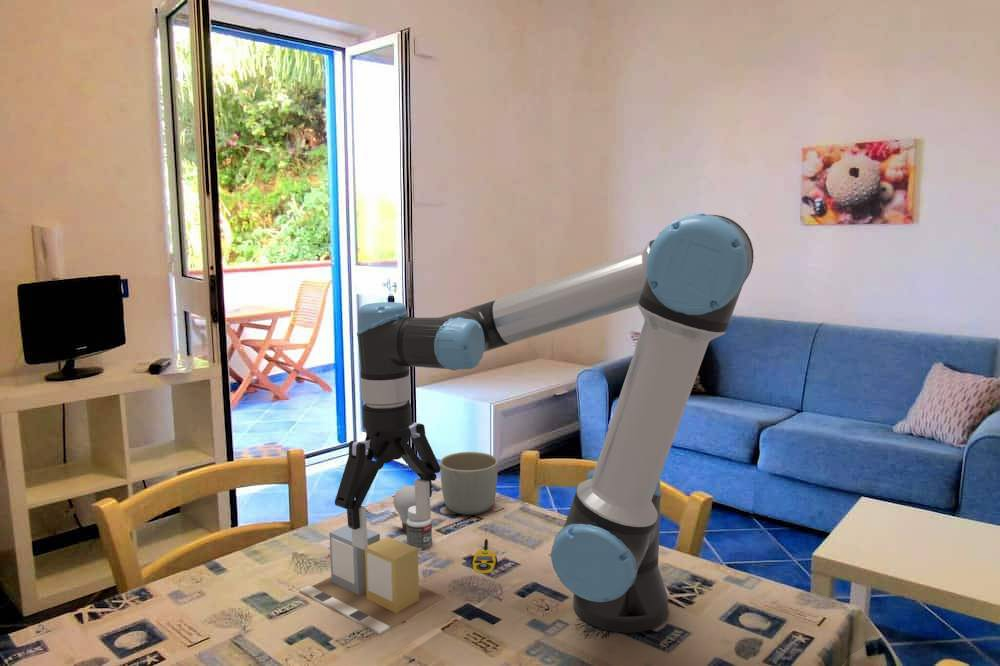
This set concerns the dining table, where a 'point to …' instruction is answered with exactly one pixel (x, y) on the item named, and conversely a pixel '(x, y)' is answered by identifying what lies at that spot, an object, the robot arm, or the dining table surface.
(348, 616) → the shelf board
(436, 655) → the dining table surface
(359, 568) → the slate box
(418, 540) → the pill bottle
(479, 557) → the yellow walkie talkie
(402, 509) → the light bulb
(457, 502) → the planter
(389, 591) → the tea box
